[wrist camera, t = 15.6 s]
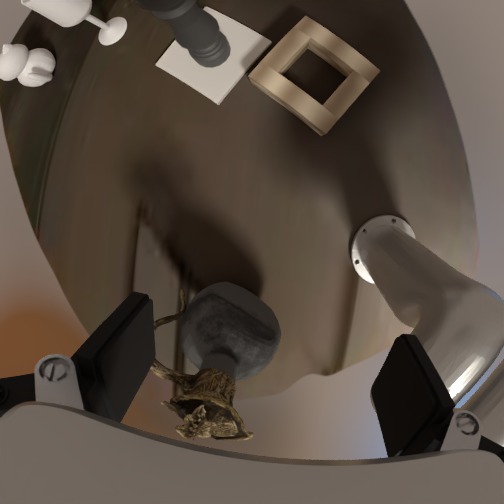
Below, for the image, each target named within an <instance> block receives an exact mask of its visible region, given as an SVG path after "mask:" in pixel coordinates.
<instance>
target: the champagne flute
mask: <svg viewBox="0 0 504 504" xmlns="http://www.w3.org/2000/svg"><path fill="white" fill-rule="evenodd" d="M21 3H22V4H23V5H25V6H27V7H29V8H30V9H32V10H34V11H36V12H38V13H40V14H41V15H43V16H45V17H47V18H49V19H50V20H52V21H54V22H55V23H57V24H59V25H61V26H63V27H71V26H74V25H77V24H79V23H80V22H82V21H83V20H84V19H86V20H88V21H89V22H91V23H93V24H95V25H97V26H99V27H101V28H102V29H101V30H100V33H99V41H100V43H101V44H103V45H110V44H113V43H115V42H117V41H118V40H119V39H120V38H121V37H122V36H123V34H124V33H125V31H126V28H127V22H126V20H125V19H124V18H122V17H116V18H113V19H111V20H109V21H108V22H107V23H104V22H103V21H101V20H99V19H97V18H96V17H94V16H92V15H90V14H89V13H90V11H91V8H92V0H21Z"/></svg>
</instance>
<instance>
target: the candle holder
mask: <svg viewBox="0 0 504 504" xmlns="http://www.w3.org/2000/svg"><path fill="white" fill-rule="evenodd" d="M134 1H135V2H136V3H137V4H138V5H140V6H141V7H142V8H143V9H147V10H151V13H152V14H153V15H154V16H155V17H156V18H157V19H161V20H164V21H169V22H170V23H171V27H172V30H173V33H174V36H175V40H176V42H177V43H178V44H179V45H180V46H181V47H183V48H185V49H188V51H189V55H190V56H191V57H192V58H193V59H194V60H195V61H196V62H197V63H198V64H199V65H201V66H203V67H209V68H213V67H216V66H220V65H221V64H223V63H224V62H225V61H226V60H227V59H228V57H229V56H230V51H231V48H230V45H229V42H228V40H227V38H226V36H225V35H224V34H223V33H222V32H220V31H219V25H218V21H217V20H216V19H215V18H214V17H213V16H212V15H211V14H209V13H208V12H206V11H205V10H203V9H201V8H200V7H198V5H197V4H196V1H197V0H134Z"/></svg>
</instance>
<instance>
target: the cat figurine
mask: <svg viewBox="0 0 504 504" xmlns="http://www.w3.org/2000/svg"><path fill="white" fill-rule="evenodd" d="M55 63H56V62H55V58H54V56H53V54H52V53H51V52H50V51H49V50H47V49H44V48H37V49H33V50H31V51H29V52H28V49H27V47H26V46H25V45H22V44H15V45H12V44H4V45H3V52H2V53H1V54H0V79H2V80H5V81H9V80H12V79H15V78H16V77H17V78H18V80H19V81H20V83H21V84H23V85H25V86H30V87H36V86H41V85H43V84H44V83H46V82H48V81H50V80H51V79H52V72H53V70H54V68H55Z"/></svg>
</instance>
